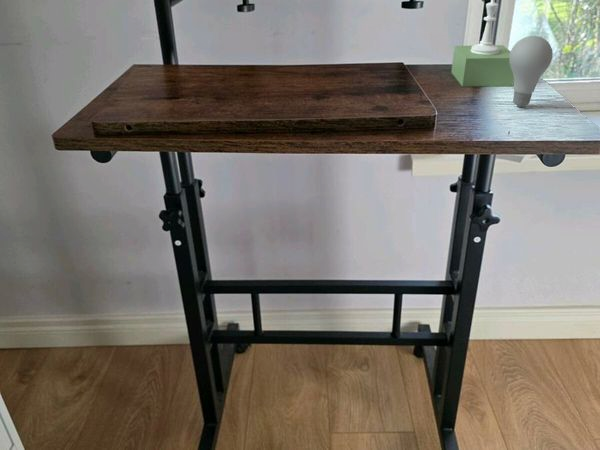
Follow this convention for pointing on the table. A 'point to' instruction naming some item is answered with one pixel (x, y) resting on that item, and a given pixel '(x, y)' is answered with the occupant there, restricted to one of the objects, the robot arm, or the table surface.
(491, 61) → the green block
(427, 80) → the table surface
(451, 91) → the table surface
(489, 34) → the chess piece
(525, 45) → the lightbulb
